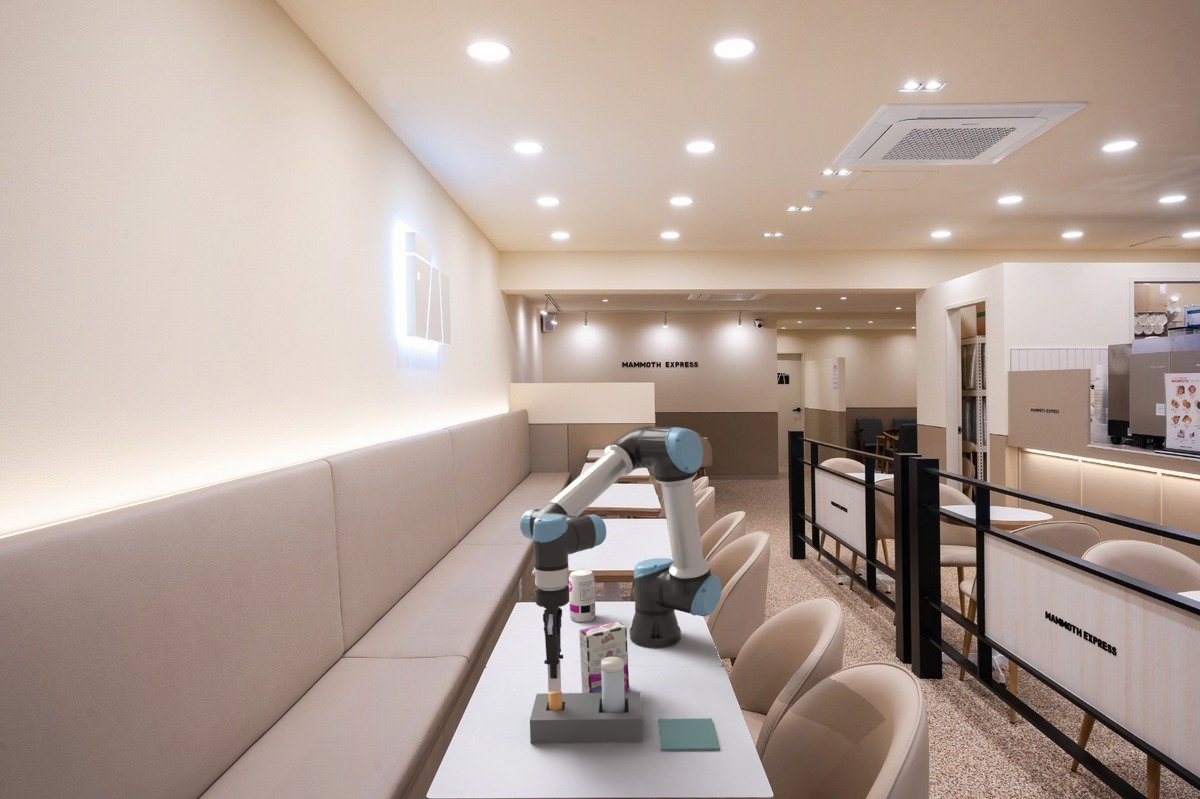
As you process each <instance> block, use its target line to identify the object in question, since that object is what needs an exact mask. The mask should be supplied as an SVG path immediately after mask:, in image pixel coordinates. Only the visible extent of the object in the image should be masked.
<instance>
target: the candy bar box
mask: <svg viewBox="0 0 1200 799" xmlns="http://www.w3.org/2000/svg"><path fill="white" fill-rule="evenodd" d="M578 633H579V650H580V651H579V652H580V653H579V654H580V656H579V658H580V673H581V674H580V675H581V679H580V680H581V693H602V676H601V660H602V659H604V658H606V657H619V658H621V659H623V661H624V692H629V691H630V678H629V677H630V675H629V654H628V633H627V626H626V625H625V624H623V623H622V622H620V621H618V620H617V621H612V622H608V623H605V624H600V625H595V626H591V627H587V628H584V629H579V631H578Z"/></svg>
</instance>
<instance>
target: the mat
mask: <svg viewBox="0 0 1200 799" xmlns="http://www.w3.org/2000/svg"><path fill="white" fill-rule="evenodd" d="M657 722H658V730H659V731H658V732H659V737H660V738H659V740H660V741H659V742H660V750H661V751H662V752H671V751H672V752H683V751H684V752H687V751H688V752H691V751H692V752H693V751H694V752H695V751H696V752H698V751H700V752H701V751H702V752H703V751H704V752H705V751H706V752H707V751H709V752H710V751H720V745H719V742H718V738H717V734H716V730H715V727H714V726H715V725H714V723H713V719H712V718H705V717H704V718H703V717H702V718H658V721H657Z"/></svg>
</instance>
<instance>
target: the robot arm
mask: <svg viewBox="0 0 1200 799" xmlns="http://www.w3.org/2000/svg"><path fill="white" fill-rule="evenodd" d="M703 457H704V448H703V444H702V442H701V439H700V437H699V436H698V435H697V434H696V433H695V432H694V431H693V430H692V429H689V428H685V427H683V428H682V427H679V426H673V427H672V426H650V425H648V426H641V427H637V428H634V429H631V430H629V431H627V432H626V433H624V434H623V435H621V436H620V437H617V438H616V439H615V440H614V441H612V442H611V443H610V444H608V446H606V447H605V449H604V450H603V455H601V457H599V458H598V459H597V460H596V461H594V462H593V463H592V464H591V465H590V466H589V467H587V469H585V470H584V471H583V472H581V474H579V475H578V476H577V477H576V478H575V479H574V480H573V481H571V483H569V484H568V485H567V486H566V487H565V488H564V489H563V490H562V491H559V493H558V494H556V495H555V497H553V498H552V499H551V500H549V502H548V503H546V504H545V505H543V507H541V509H538V508H530V509H528V510H526V511H525V512H524V513H523V514H522V516H521V518H520V522H519V523H520V524H519V528H520V531H521V534H522V535H523V536H524V537H525V538H526V539H528V540H531V541H533V560H534V563H533V564H534V570H532V572H531V574H532V576H535V577H534V583H535V584H534V585H535V588H534V598H535V604H536V605H537V606H539V607H540V608H544V610H543V612H544V613H542V620H543V621H542V622H543V624H544V625H543V626H544V627H543V631H544V632H543V633H544V638H545V639H544V640H545V643H544V644H545V655H546V659H544V665H547V683H548V684H547V687H548V688H547V691H548V693H549V692H561V691H562V675H561V673H562V672H561V671H562V670H561V669H562V668H561V660H563V659H564V654H561V652H562V647H561V644H562V642H561V638H562V637H561V633H562V632H561V631H562V630H561V629H562V617H563V609H562V607H563V606H566V605H568V604H569V603H570V601H569V576H570V573H569V570H570V569H569V568H570V566H569V555H573V554H576V553H578V552H579V553H580V552H583V551H586V550H590V549H593V548H595V547H597V546H600V545H601V544H603V543H604V541H605V540H606V538H607V526H606V523H605V522H604V520H603V518H601V516H599V515H597V514H585V515H583V516H580V515H582V513H583V512H584V511H585V510H586V509H587V508H589V506H590V505H592V504H593V503H594V501H596V500H597V499H598V498H600V497H601V495H602V494H603V493H605V492H606V491H607V490H608V489H609V488H611V486H612V485H613V484H614V483H616V482H617V481H618V480H619V479H620V478H621V477H623V476H628V475H629V474H631V473H632V472H633V471H634V470H638V469H652V470H653V471H652V472H653V476H654V480H655V481H656V482H657V483H659V484H660V485H661V491H662V492H661V493H662V498H663V505H664V512H665V518H666V519H665V520H666V525H667V532H668V538H669V546H670V550H671V557H672V559H671V558H667V557H659V558H658V557H657V558H650V559H649V558H648V559H645V560H641V561H639V562H638V563H636V564H635V565H634V573H633V574H634V576H633V582H634V585H633V586H634V589H633V591H634V615H633V619H632V622H631V627H630V629H629V639H630V641H631V642H632V643H634V644H635V645H638V646H641V647H645V648H654V649H655V648H666V647H671V646H673V645H676V644H678V643H679V642H680V641H681V639H682V630H681V627H680V626H679V623H678V619H677V616H676V611H678V612H683V613H686V614H691V615H692V616H699V617H708V616H710V615H711V614H712V613H713V612H715V610H716V609H717V607H718V606H719V602H720V600H721V596H722V590H723V587H722V586H723V584H722V581H721V578H720V577H719V576H718V575H716V574H712V570H711V564H710V562H709V561H707V560H706V559H704V552H703V547H702V546H703V545H702V540H701V539H702V538H701V532H700V526H699V524H700V523H699V517H698V510H697V504H696V495H695V489H694V483H693V480H694V479H695V477H696V476H697V473H698V472H697V471H699V469H700V467H701V466H702V464H703V460H702V459H703Z"/></svg>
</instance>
